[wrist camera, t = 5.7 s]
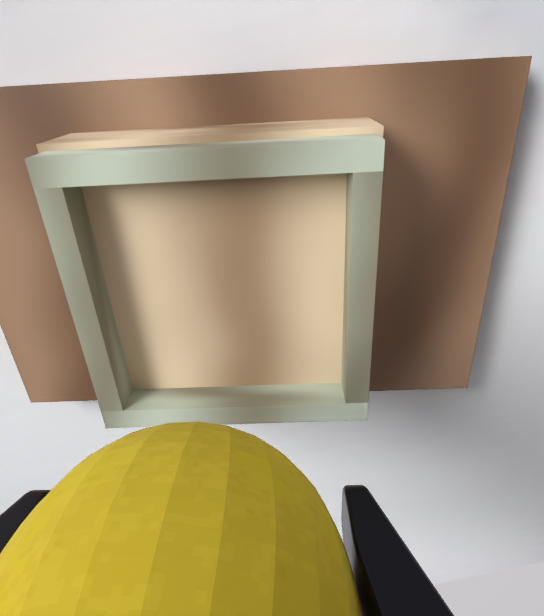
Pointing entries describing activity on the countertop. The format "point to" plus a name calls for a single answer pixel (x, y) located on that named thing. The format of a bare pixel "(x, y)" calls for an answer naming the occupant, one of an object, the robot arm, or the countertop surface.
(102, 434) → the countertop surface
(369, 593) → the robot arm
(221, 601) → the lemon
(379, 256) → the plinth
